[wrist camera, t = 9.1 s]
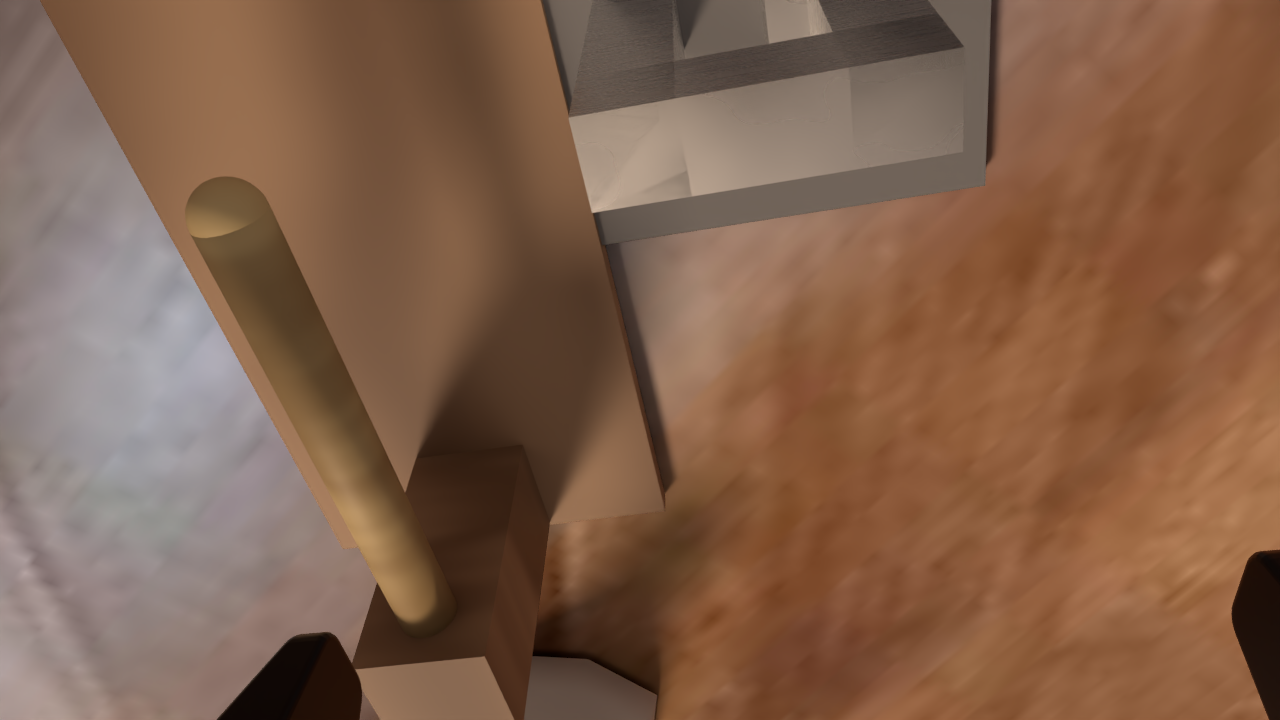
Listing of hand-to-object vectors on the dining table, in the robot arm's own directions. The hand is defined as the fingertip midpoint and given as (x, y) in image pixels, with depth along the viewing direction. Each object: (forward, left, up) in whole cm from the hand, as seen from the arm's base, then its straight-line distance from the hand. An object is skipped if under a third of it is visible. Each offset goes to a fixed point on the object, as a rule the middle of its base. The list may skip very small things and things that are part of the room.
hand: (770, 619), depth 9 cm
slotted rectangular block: (-1, -3, -12) cm, 12 cm away
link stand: (+7, +2, -12) cm, 14 cm away
